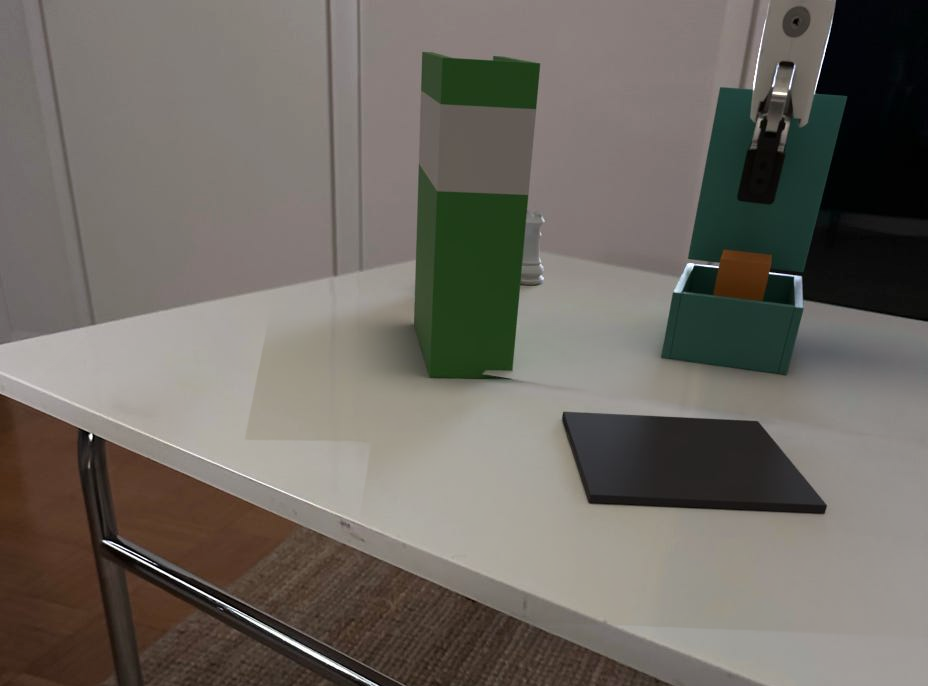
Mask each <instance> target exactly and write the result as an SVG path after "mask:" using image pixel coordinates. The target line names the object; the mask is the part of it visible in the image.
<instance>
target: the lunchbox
mask: <svg viewBox="0 0 928 686" xmlns="http://www.w3.org/2000/svg"><path fill="white" fill-rule="evenodd" d="M718 269H719V266H717V265H707V264H700V263H699V264H698V263H691V262H687V263H686V265H685V267H684V268H683V271H682V273H681V275H680V277H679V279H678V281H677V283H676V285H675V287H674V290H673V291H672V295H671V301H670V305H669V306H670V307H669V311H668V317H667V322H666V329H665V333H664V340H663V344H662V351H661V357H660V359H665V360H671V361H672V360H673V361H678V362H679V361H680V362H686V363H695V364H702V365H708V366H714V367H715V366H716V367H722V368H728V369H729V368H731V369H735V370H736V369H738V370H743V371H744V370H745V371H752V372H759V373H766V374H772V375H779V376H780V375H781V376H787V375H788V371H789V367H790V364H791V360H792V357H793V352H794V348H795V345H796V340H797V337H798V334H799V333H798V332H799V328H800V325H801V321H802V317H803V313H804V308H805V306H804V289H803V276H802V275H793V274H787V273H786V274H785V273H776V272H769V276H768V280H767V284H766V288H765V293H764V297H763V301H756V300H748V299H739V298H731V297H723V296H715V295H713V294H714V289H715V284H716V279H717V274H718Z"/></svg>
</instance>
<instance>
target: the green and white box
mask: <svg viewBox="0 0 928 686" xmlns="http://www.w3.org/2000/svg"><path fill="white" fill-rule="evenodd" d="M540 70H541V63H540V62H536V61H529V60H524V59H519V58H514V57H509V56H502V55H493V56H492V59H478V58H477V59H475V58H460V57H452V56H447V55H445V54H441V53H437V52H433V51H421V78H420V79H421V80H420V107H419V108H420V109H419V110H420V111H419V116H420V117H419V141H418V142H419V143H418V144H419V146H418V147H419V148H418V177H417V178H418V179H417V210H416V212H417V213H416V239H415V240H416V245H415V272H414V273H415V275H414V276H415V278H414V307H413V308H414V309H413V325H414V329H415V332H416V336H417V340H418V343H419V346H420V349H421V353H422V356H424V357H423V360H424V363H426V364H425V367H426V371H427V374H428V373H429V374H428V376H429V378H430V377H431V378H433V379H434V378H435V377H437V378H439V379H489V380H491V379H492V378H493V379H497V380H499V379H500V380H512V379H513V378H510V377H505V376H497V375H489V374H485V372H486V371H512V372H513V369H514V358H515V348H516V337H517V325H518V315H519V304H520V294H521V293H520V292H521V291H520V290H521V284H520V282H521V271H522V260H523V249H524V238H525V227H526V216H527V210H528V204H529V193H530V182H531V172H532V171H531V170H532V161H533V160H532V159H533V150H534V149H533V148H534V139H535V126H536V116H537V106H538V105H537V104H538V95H539V84H540V83H539V82H540ZM435 379H436V378H435ZM493 379H492V380H493Z"/></svg>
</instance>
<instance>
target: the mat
mask: <svg viewBox="0 0 928 686" xmlns="http://www.w3.org/2000/svg"><path fill="white" fill-rule="evenodd" d="M561 419H562V421H563V425H564V428H565V431H566V434H567V437H568V441H569V444H570V446H571V449H572V452H573V456H574V459H575V462H576V465H577V468H578V471H579V472H578V473H579V475H580V478H581V481H582V483H583V484H582V485H583V487H584V490H585V493H586V496H587V500H588V502H589V503H590V504H592V503H593V504H613V505H614V504H615V505H634V506H635V505H637V506H658V507H660V506H661V507H677V508H678V507H680V508H681V507H682V508H703V509H704V508H705V509H725V510H746V511H747V510H748V511H767V512H768V511H771V512H775V511H776V512H791V513H793V512H794V513H815V514H818V513H819V514H826V511H827V509H828V504H827V503H826V501H824V499H822V497H821V496H820V495H819V494H818V492H817V491H816V490H815V489H814V488H813V486H812V485H811V484H810V483H809V481H808V480H807V479H806V478H805V477H804V475H803V474H802V473H801V471H800V470H799V468H797V467H796V466H795V464H794V463H793V462H792V461H791V459H790V458H789V457H788V455H787V454H786V453H785V452H784V451H783V449H781V447H780V446H779V445H778V444H777V442H776V441H775V440H774V438H773V437H772V436H771V435H770V434H769V433H768V431H767V430H766V429H765V428H764V427H763V425H762V424H761V423H760V422H759V421H758V420H747V419H745V420H744V419H724V418H705V417H704V418H703V417H684V416H683V417H682V416H665V415H663V416H662V415H643V414H625V413H624V414H622V413H621V414H620V413H602V412H581V411H580V412H579V411H562V416H561Z"/></svg>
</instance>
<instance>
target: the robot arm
mask: <svg viewBox="0 0 928 686" xmlns="http://www.w3.org/2000/svg"><path fill="white" fill-rule="evenodd" d="M836 2H837V0H769V1H768V6H767V10H766V16H765V21H764V26H763V30H762V35H761V41H760V46H759V51H758V57H757V62H756V67H755V75H754V80H753V86H752V89H753V94H752V102H751V113H750V118H751V119H752V121H753V122H754V123H756V126H755V131H754V135H753V139H752V141H751V144H750V149H747V153H746V158H745V163H744V167H743V172H742V176H741V181H740V185H739V190H738V194H737V199H738V200H739V201H742V202H750V203H759V204H768V205H770V204H772V203H773V202H774V200H775V196H776V192H777V188H778V184H779V180H780V176H781V172H782V167H783V163H784V159H785V155H786V153H784V151H785V147H786V144H785V143H786V138H787V134H788V130H789V126H790V123H791V118H792V116H794V118H797V119H799V120H798V127H803V126H805V125H806V124H807V123H808V119H809V114H810V110H811V106H812V102H813V98H814V94H816V91H817V85H818V81H819V78H820V74H821V71H822V70H821V69H822V65H823V62H824V58H825V53H826V49H827V45H828V42H829V37H830V33H831V28H832V24H833V18H834V13H835V9H836Z"/></svg>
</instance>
